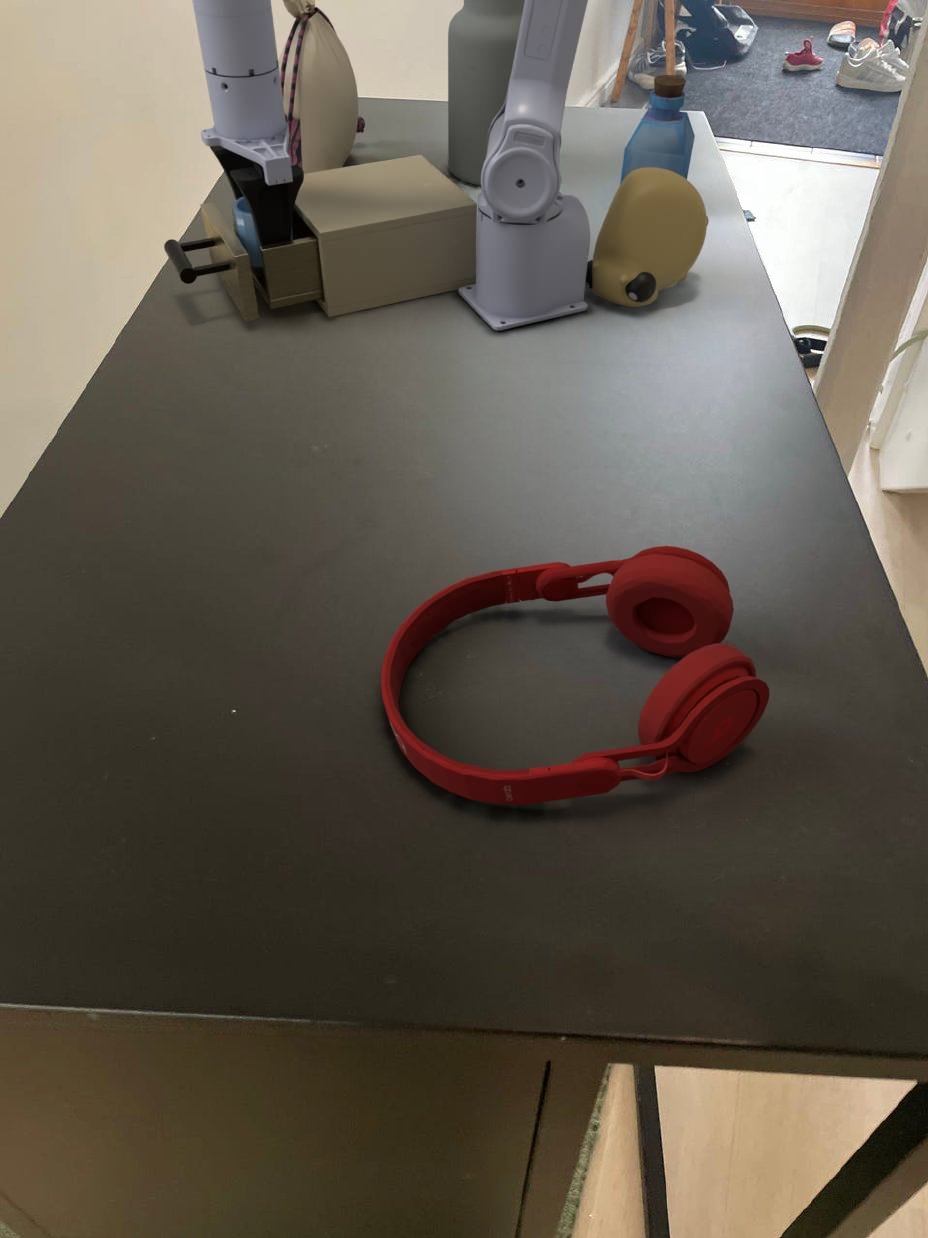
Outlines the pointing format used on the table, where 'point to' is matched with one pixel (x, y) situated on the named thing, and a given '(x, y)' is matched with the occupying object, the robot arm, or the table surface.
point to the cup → (248, 231)
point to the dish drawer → (280, 280)
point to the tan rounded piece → (647, 237)
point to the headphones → (648, 617)
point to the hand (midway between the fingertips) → (267, 239)
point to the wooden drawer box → (388, 233)
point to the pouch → (317, 91)
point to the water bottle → (478, 78)
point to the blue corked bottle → (662, 131)
